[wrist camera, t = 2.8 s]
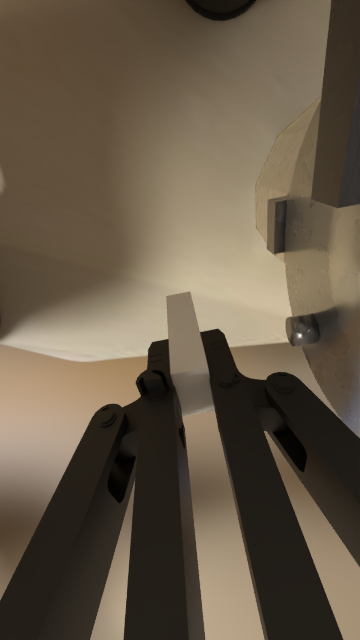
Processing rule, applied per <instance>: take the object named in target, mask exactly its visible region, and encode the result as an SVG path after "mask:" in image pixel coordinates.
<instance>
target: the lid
mask: <svg viewBox="0 0 360 640" xmlns="http://www.w3.org/2000/svg"><path fill="white" fill-rule="evenodd" d="M284 261H285V267H286V279H287V288H288V294H289V301H290V306H291V311H292V315H293V317H288V318H287V319H286V333H287V337H288V340H289V342H290V344H291V345H292V346H302V349H303V352H304V354H305V357H306V359H307V362H308V364H309V367H310V368H311V371H312V373H313V375H314V377H315V379H316V381H317V383H318V385H319V386H320V388H321V390H322V392H323V394H324V395H325V397H326V398H327V400H328V402H329V403H330V405H331V406H332V408H333V409H334V410H335V412H336V413H337V414H338V416H339V417H340V418H341V420H342V421H343V422H344V423H345V425H347V426H348V427H349V428H350V429H351V430H352V431H353V432H354V433H355V434H356V435H357V436H358V437H359V438H360V0H332V1H331V10H330V20H329V30H328V39H327V49H326V59H325V68H324V78H323V88H322V97H321V100H320V102H319V104H318V106H317V108H316V110H315V112H314V115H313V117H312V119H311V122H310V124H309V126H308V128H307V131H306V134H305V137H304V139H303V142H302V145H301V148H300V151H299V155H298V158H297V162H296V165H295V169H294V173H293V178H292V182H291V187H290V192H289V193H288V194H287V213H286V227H285V250H284Z"/></svg>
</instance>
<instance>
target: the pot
mask: <svg viewBox="0 0 360 640" xmlns="http://www.w3.org/2000/svg"><path fill="white" fill-rule="evenodd" d="M320 100H321V97H320V98H319V99H317V100H316V101H315V102H314V103H313V104H312V105H311V106H310V107H309V108H308V109H307V110H306V111H304V112H303V113H302V114H301V115H300V116H299V117H298V118H297V119H296V120H295V121H294V122H293V123H291V124H290V125H289V126H288V127H287V128H286V129H285V130H284V131H283V132H282V133H281V134H280V135H278V136H277V139H276V141H275V143H274V145H273V148H272V150H271V152H270V154H269V157H268V159H267V161H266V163H265V165H264V168H263V170H262V172H261V174H260V177H259V179H258V181H257V183H256V228H257V229H258V231H259V232H260V234H261V235H262V237H263V238H264V240H265V242H266V243H267V249H268V250H269V251H270V252H271V253H272V254H274V255H275V256H276V257H277V258H279V259H280V260H281V261H282V262H284V263H285V261H284V250H285V227H286V213H287V194H288V193H289V192H290V187H291V182H292V178H293V173H294V169H295V165H296V162H297V158H298V155H299V151H300V148H301V145H302V142H303V139H304V137H305V134H306V131H307V128H308V126H309V124H310V122H311V119H312V117H313V115H314V112H315V110H316V108H317V106H318V104H319V102H320Z"/></svg>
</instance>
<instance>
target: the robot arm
mask: <svg viewBox="0 0 360 640" xmlns="http://www.w3.org/2000/svg"><path fill="white" fill-rule="evenodd" d="M166 298H167V318H168V337H169V339H166V340H161V341H156V342H152V344H151V346H150V347H149V349H148V366H147V370H145V371H144V372H142V373H141V374H140V375H139V377H138V378H137V380H136V385H137V388H138V390H139V392H140V394H141V397H140V398H139V399H138V400H136V401H135V402H133V403H131V404H129V405H127V406H124V407H121V406H120V405H118V404H108V405H105V406H103V407H102V408H100V409H99V410H98V411H97V412H96V413H95V414H94V416H93V417H92V419H91V421H90V423H89V425H88V427H87V429H86V431H85V433H84V435H83V437H82V439H81V441H80V443H79V445H78V447H77V449H76V451H75V453H74V455H73V457H72V459H71V461H70V463H69V465H68V467H67V469H66V471H65V473H64V475H63V477H62V479H61V481H60V483H59V485H58V487H57V489H56V491H55V493H54V495H53V497H52V499H51V501H50V503H49V505H48V507H47V509H46V511H45V513H44V515H43V517H42V519H41V521H40V523H39V525H38V527H37V528H36V531H35V533H34V535H33V537H32V539H31V540H30V542H29V544H28V547H27V549H26V550H25V552H24V554H23V556H22V558H21V560H20V562H19V564H18V567H17V568H16V570H15V572H14V574H13V576H12V578H11V580H10V583H9V584H8V586H7V589H6V590H5V593H4V595H3V597H2V598H1V600H0V640H90V637H91V634H92V630H93V627H94V623H95V620H96V616H97V612H98V609H99V605H100V602H101V598H102V595H103V591H104V588H105V584H106V580H107V577H108V573H109V570H110V566H111V563H112V559H113V555H114V552H115V548H116V545H117V541H118V538H119V534H120V531H121V527H122V523H123V520H124V516H125V512H126V509H127V506H128V502H129V499H130V495H131V491H132V488H133V484H134V481H135V491H134V505H133V518H132V532H131V546H130V559H129V574H128V587H127V601H126V614H125V627H124V640H205V632H204V622H203V612H202V602H201V591H200V581H199V571H198V560H197V550H196V540H195V529H194V519H193V510H192V500H191V489H190V478H189V468H188V457H187V447H186V437H185V427H184V425H183V421H182V415H183V416H186V415H192V414H197V413H203V412H208V411H214V410H215V413H216V418H217V423H218V429H219V432H220V437H221V441H222V446H223V451H224V455H225V459H226V464H227V469H228V474H229V478H230V483H231V487H232V492H233V497H234V501H235V506H236V510H237V515H238V520H239V524H240V529H241V533H242V538H243V542H244V546H245V552H246V556H247V561H248V565H249V570H250V575H251V579H252V584H253V588H254V593H255V597H256V602H257V607H258V611H259V616H260V620H261V625H262V629H263V634H264V639H265V640H343V638H342V635H341V632H340V630H339V627H338V625H337V622H336V619H335V617H334V614H333V612H332V609H331V606H330V604H329V601H328V598H327V596H326V593H325V591H324V588H323V585H322V583H321V580H320V577H319V575H318V572H317V570H316V567H315V565H314V562H313V559H312V557H311V554H310V551H309V549H308V546H307V543H306V541H305V538H304V536H303V533H302V531H301V528H300V525H299V523H298V520H297V517H296V515H295V512H294V509H293V507H292V504H291V502H290V499H289V496H288V494H287V491H286V489H285V486H284V483H283V481H282V478H281V475H280V473H279V470H278V468H277V465H276V462H275V460H274V457H273V454H272V452H271V449H270V447H269V444H268V441H267V439H266V436H265V433H264V431H267V432H268V434H269V435H270V437H271V438H272V440H273V441H274V442H275V444H276V445H277V447H278V448H279V450H280V451H281V453H282V454H283V456H284V457H285V459H286V460H287V462H288V463H289V464H290V466H291V467H292V469H293V470H294V472H295V473H296V474H297V476H298V478H299V479H300V481H301V482H302V483H303V485H304V486H305V488H306V489H307V491H308V492H309V494H310V495H311V497H312V498H313V499H314V501H315V502H316V504H317V505H318V507H319V508H320V510H321V511H322V512H323V514H324V516H325V517H326V518H327V520H328V521H329V523H330V524H331V526H332V527H333V529H334V530H335V531H336V533H337V534H338V536H339V537H340V539H341V540H342V542H343V543H344V545H345V546H346V548H347V549H348V550H349V552H350V553H351V555H352V556H353V558H354V559H355V561H356V562H357V563H358V565H359V566H360V438H359V437H358V436H357V435H356V434H355V433H354V432H353V431H352V430H351V429H350V428H349V427H348V426H347V425H345V424H344V423H343V422H342V421H341V420H340V419H339V418H338V417H337V416H336V415H335V414H334V413H333V412H332V411H331V410H330V409H329V408H328V407H327V406H326V405H325V404H324V403H323V402H322V401H321V400H320V399H319V398H318V397H317V396H316V395H315V394H314V393H313V392H312V391H311V390H310V389H308V387H307V386H306V385H305V384H304V383H302V381H300V379H298V378H297V377H295V376H294V375H292V374H289V373H286V372H277V373H273V374H271V375H269V376H268V377H267V379H266V380H258V379H250V378H248V377H245V376H244V375H242V374H241V373H240V372H239V371H238V369H237V367H236V365H235V362H234V359H233V356H232V354H231V351H230V348H229V346H228V343H227V340H226V338H225V335H224V333H222V332H221V331H220V330H219V329H214V330H209V331H204V332H200V331H199V327H198V322H197V318H196V314H195V310H194V305H193V301H192V297H191V293H190V292H185V293H180V294H175V295H170V296H166Z"/></svg>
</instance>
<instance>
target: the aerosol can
mask: <svg viewBox="0 0 360 640" xmlns="http://www.w3.org/2000/svg"><path fill="white" fill-rule="evenodd" d="M185 1H186V2H187V3H188V4H189V5H190V6H191V7H192V8H193V9H194V10H195V11H196V12H197V13H199V14H200V15H202V16H203V17H206V18H209V19H212V20H228V19H231V18H235V17H237V16H238V15H240V14H242V13H243V12H245V11H246V10H247V9H248V8H249V7H250V6H252V5H253V4H254V3H255V1H256V0H185Z"/></svg>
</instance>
